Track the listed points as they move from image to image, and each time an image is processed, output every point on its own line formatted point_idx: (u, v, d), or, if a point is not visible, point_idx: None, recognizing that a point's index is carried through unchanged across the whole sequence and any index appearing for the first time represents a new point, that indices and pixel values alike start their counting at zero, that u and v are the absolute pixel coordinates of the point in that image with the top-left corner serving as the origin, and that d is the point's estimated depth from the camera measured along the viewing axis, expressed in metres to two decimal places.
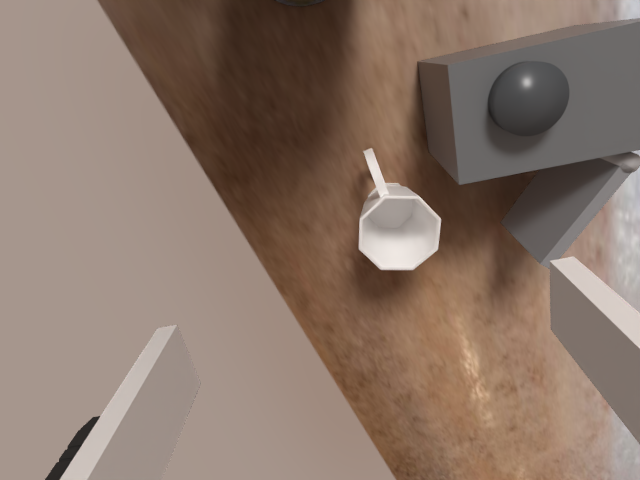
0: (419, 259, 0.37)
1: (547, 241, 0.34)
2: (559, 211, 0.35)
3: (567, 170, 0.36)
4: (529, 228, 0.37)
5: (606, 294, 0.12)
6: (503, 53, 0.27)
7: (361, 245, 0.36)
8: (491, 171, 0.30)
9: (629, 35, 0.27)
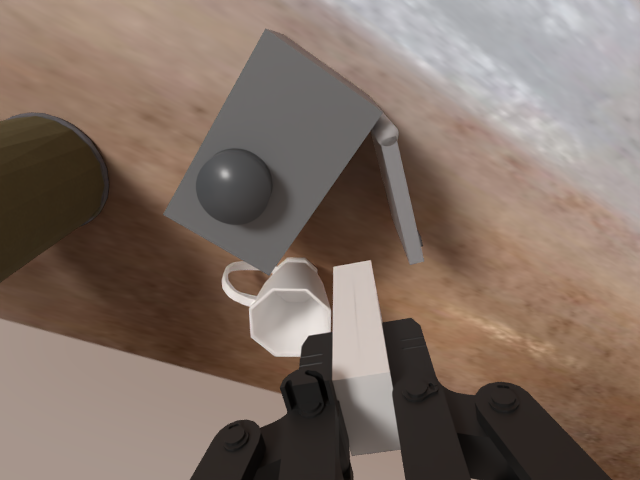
0: (327, 326, 0.36)
1: (402, 238, 0.31)
2: (392, 202, 0.31)
3: (378, 154, 0.33)
4: (396, 224, 0.34)
5: (368, 291, 0.15)
6: (187, 171, 0.27)
7: (273, 352, 0.36)
8: (279, 247, 0.29)
9: (257, 69, 0.25)
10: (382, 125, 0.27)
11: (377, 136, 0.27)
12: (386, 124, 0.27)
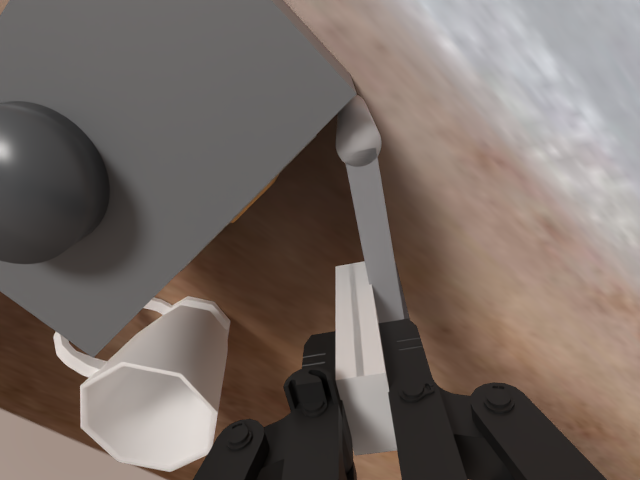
0: None
1: None
2: None
3: None
4: None
5: (365, 291, 0.15)
6: None
7: (117, 455, 0.22)
8: (116, 313, 0.15)
9: None
10: (349, 124, 0.13)
11: (338, 145, 0.13)
12: (357, 122, 0.13)
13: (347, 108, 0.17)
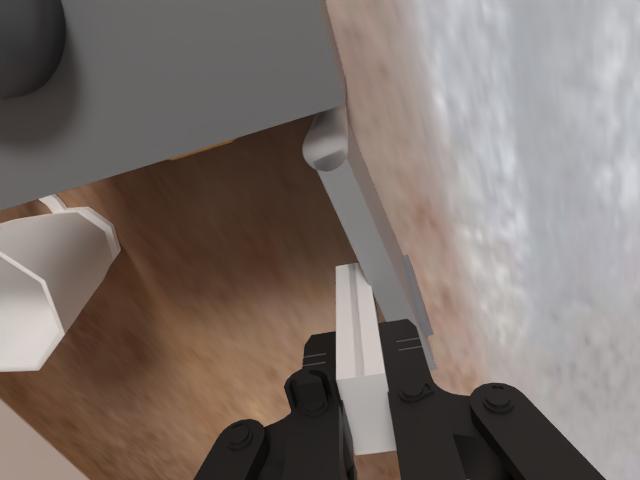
0: (45, 351, 0.20)
1: None
2: None
3: None
4: None
5: (364, 291, 0.15)
6: None
7: None
8: (4, 191, 0.14)
9: None
10: (312, 131, 0.13)
11: (306, 154, 0.14)
12: (319, 128, 0.13)
13: (318, 114, 0.17)
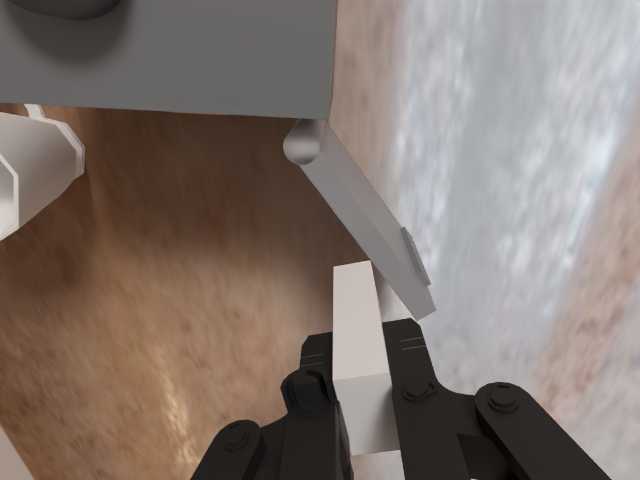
0: None
1: None
2: None
3: None
4: None
5: (368, 291, 0.15)
6: None
7: None
8: (25, 88, 0.16)
9: None
10: (288, 135, 0.17)
11: (287, 154, 0.17)
12: (293, 132, 0.17)
13: None
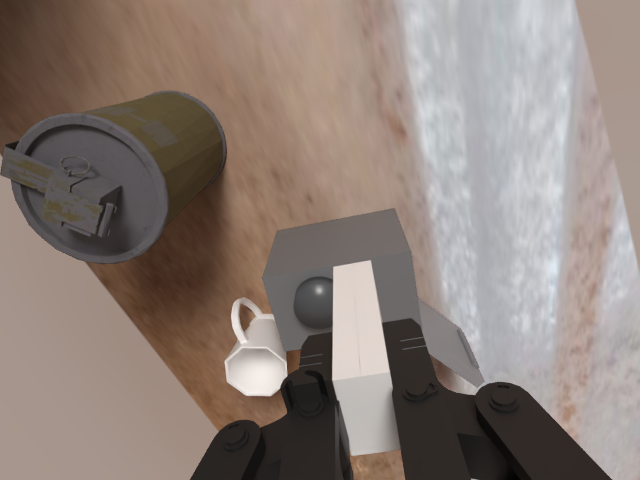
0: (275, 388, 0.47)
1: None
2: None
3: None
4: None
5: (368, 291, 0.15)
6: (300, 271, 0.38)
7: (228, 379, 0.47)
8: None
9: (387, 262, 0.37)
10: None
11: None
12: None
13: None
